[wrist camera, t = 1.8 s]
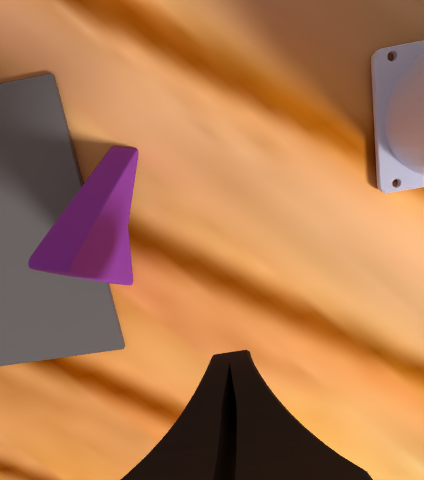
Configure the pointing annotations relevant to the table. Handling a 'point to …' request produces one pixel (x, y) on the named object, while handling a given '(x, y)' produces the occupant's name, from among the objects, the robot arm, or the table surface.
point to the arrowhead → (94, 226)
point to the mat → (42, 234)
